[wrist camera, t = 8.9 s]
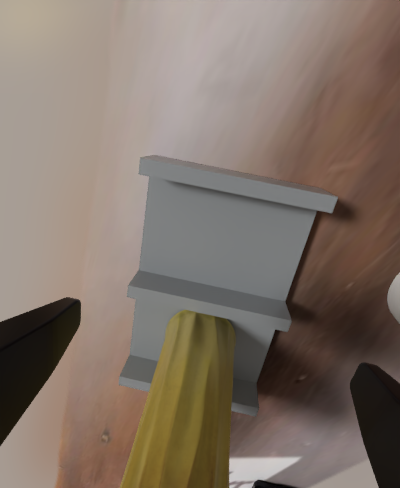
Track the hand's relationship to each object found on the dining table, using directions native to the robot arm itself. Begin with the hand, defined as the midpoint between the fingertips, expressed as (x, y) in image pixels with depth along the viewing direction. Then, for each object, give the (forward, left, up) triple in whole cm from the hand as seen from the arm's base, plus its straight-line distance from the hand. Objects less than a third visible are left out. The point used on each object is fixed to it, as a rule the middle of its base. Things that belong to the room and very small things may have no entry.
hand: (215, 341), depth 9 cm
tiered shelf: (-6, 0, -13) cm, 14 cm away
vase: (-10, 0, -12) cm, 16 cm away
